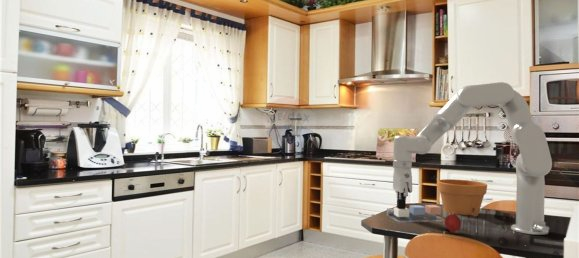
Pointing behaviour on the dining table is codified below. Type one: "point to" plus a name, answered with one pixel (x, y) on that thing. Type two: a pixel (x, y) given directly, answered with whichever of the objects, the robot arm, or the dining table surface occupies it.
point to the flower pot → (462, 196)
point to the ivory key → (401, 212)
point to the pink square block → (432, 209)
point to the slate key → (417, 209)
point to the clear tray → (414, 217)
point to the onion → (452, 222)
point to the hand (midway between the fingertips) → (401, 208)
